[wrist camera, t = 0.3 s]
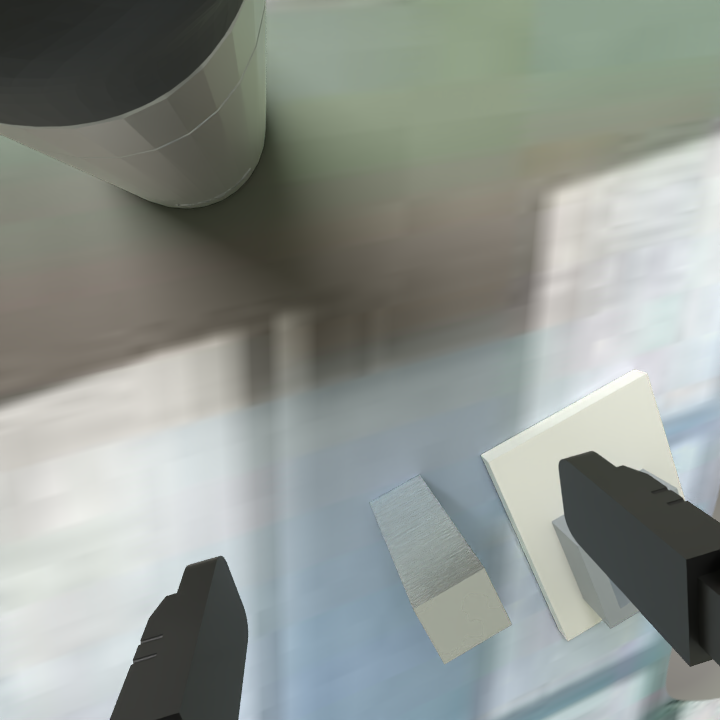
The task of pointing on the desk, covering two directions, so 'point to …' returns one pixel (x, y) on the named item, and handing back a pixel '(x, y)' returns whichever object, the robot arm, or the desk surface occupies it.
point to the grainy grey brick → (438, 570)
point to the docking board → (544, 498)
